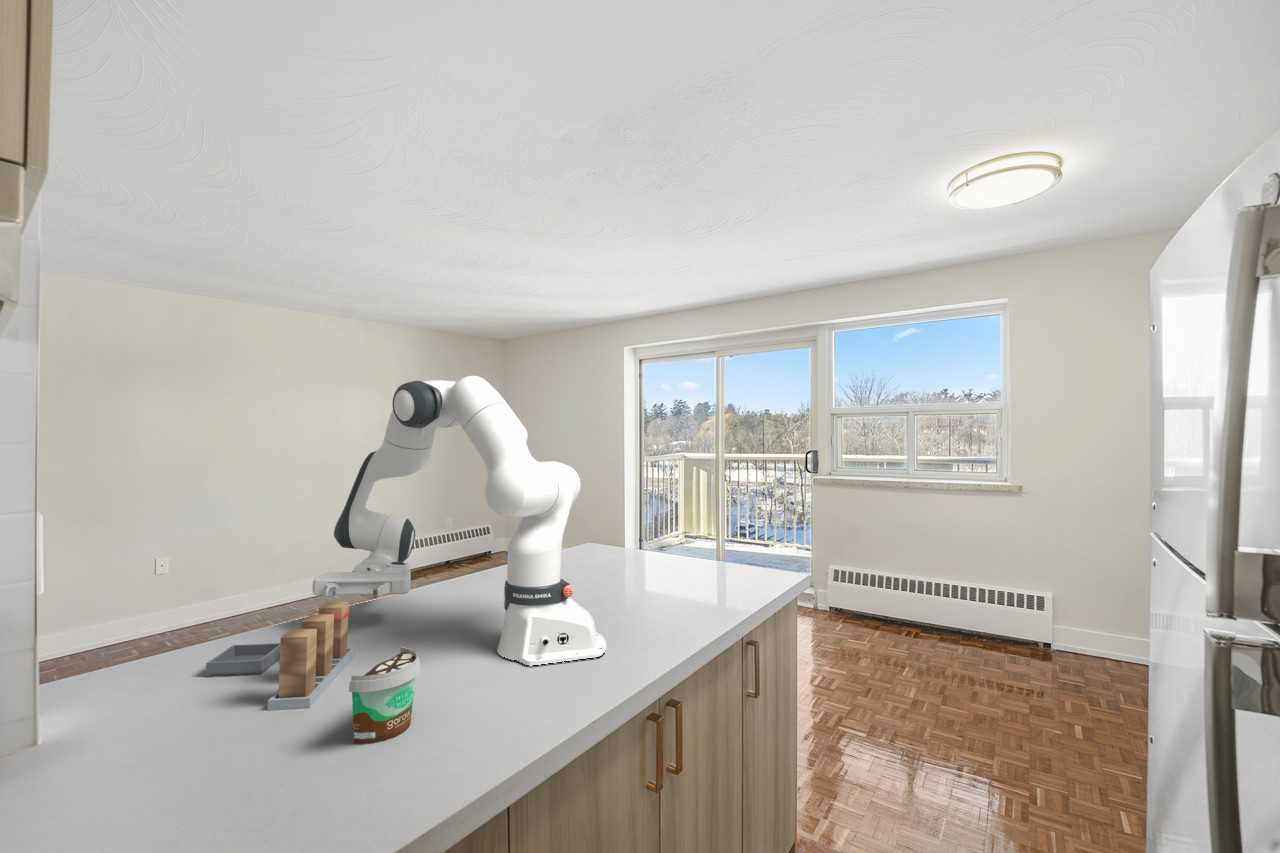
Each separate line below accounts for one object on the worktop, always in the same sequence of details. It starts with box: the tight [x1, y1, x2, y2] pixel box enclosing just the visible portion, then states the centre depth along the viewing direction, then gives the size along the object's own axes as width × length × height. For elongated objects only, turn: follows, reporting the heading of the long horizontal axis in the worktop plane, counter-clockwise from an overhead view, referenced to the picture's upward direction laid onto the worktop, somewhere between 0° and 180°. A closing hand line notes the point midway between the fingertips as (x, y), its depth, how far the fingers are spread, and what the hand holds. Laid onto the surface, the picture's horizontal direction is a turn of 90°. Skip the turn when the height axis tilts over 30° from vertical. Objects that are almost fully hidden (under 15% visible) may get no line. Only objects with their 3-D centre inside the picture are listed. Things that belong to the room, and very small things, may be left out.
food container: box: [348, 646, 422, 745], centre depth 84 cm, size 12×6×10 cm, turn 168°
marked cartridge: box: [317, 601, 350, 659], centre depth 109 cm, size 4×4×11 cm
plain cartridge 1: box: [278, 628, 317, 698], centre depth 93 cm, size 4×4×11 cm
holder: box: [266, 647, 356, 711], centre depth 101 cm, size 6×22×2 cm, turn 10°
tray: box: [205, 642, 280, 678], centre depth 106 cm, size 9×9×2 cm
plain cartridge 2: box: [300, 614, 334, 677], centre depth 101 cm, size 4×4×11 cm
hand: (353, 593), depth 121 cm, fingers open, 8 cm apart
